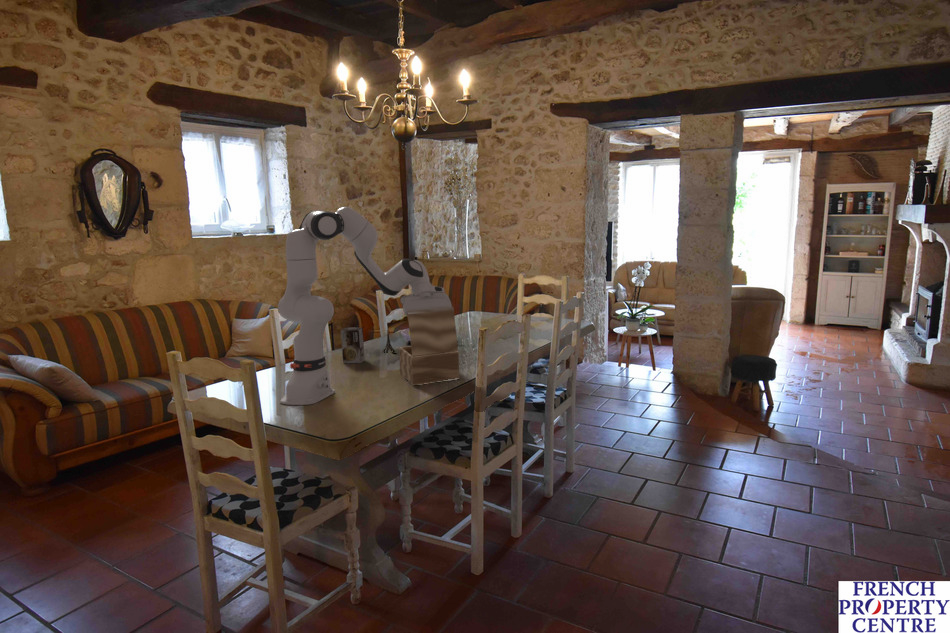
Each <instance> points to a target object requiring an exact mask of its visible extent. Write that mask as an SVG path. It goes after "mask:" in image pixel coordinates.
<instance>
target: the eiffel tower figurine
mask: <svg viewBox="0 0 950 633" xmlns="http://www.w3.org/2000/svg"><path fill="white" fill-rule="evenodd" d="M386 333H387V334H386V335H387V338H386V345H385V346H384V348H383V350H382V353H384V352H385V351H386V353H388V351H390V350H391V351H392V350H393V352H394V353H396V351H395V349H394V348H393V346H392V344H391V341H390V335H389V334H390V333H389V328H387V332H386ZM372 354H373V355H378V353H376V352H372V353H371V355H372Z"/></svg>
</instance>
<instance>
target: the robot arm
mask: <svg viewBox="0 0 950 633" xmlns="http://www.w3.org/2000/svg"><path fill="white" fill-rule="evenodd" d="M339 235H341V236H343V237H344V238H345V239H346V240H347V241H348V242H350V244H351V245H352V246H353V248H354V252H353V253H354V256H355V258H356V259H357V261H358V262H359V263H360V265H361V266H362V267H363V268H364V270H365V271H366V272H367V274H369V275H370V277H371V278H372V280H374V282H375V283H376V285H377V287H379V289H380V291H381V292H382V293H383V294H385V295H387V296H390V297H391V296H392V297H393V296H397V295H399V293H400V292H402V290H403V289H405V287H407V286H409V285H410V287H411V289H410V291H411V294H409V295H407V294H405V295H403V296H401V297H400V299H399V300H400V303H401V304H402V310H403V314H404V315H405V316H407V317H408V311H412V310H423V309H434V308H445V307H453V305H452V301H451V300H450V298H449V295H448V294H447V293H446V289H445V287H441V286H435V285H433V284H432V283H431V282H430V276H429V273H428V271H427V268H426V266H425V264H424V263H423V262H422V261H420V260H418V259H411V258H402V259H401V260H400V261H398V262H396V264H394V266H393V267H392V268H390V269H389V270H387V271H383V270H382V269H381V268H380V266H379V265H378V264H377V263H376V261H375V260H374V259H373V257H372V254H373V252H374V249H375V248H376V245H377V243H378V239H379V234H378V231H377V228H376V227H375V226H374V225H373V224H372V223H371V222H370V221H369V220H368V219H367V218H365V217H364V216H363V215H362V214H361V213H359V212H358V211H356V210H355V209H354V208H351V207H350V206H342V207H340V208H338V209H337V210H336V211H335V212H332V211H327V210H321V209H318V210H314V211H312V210H311V211H310V212H307V214H306V215H305V216H304V217H303V219H302V221H301V224H300V225H299V227H298V229H294V230H291V231H290V232H288V233H287V235H286V241H285V259H286V262H285V263H286V273H287V275H286V277H287V278H286V279H287V282H286V287H285V292H284V294H283V296H282V297H281V298H280V299H279V300H278V304H277V311H278V313H279V315H280V317H282V318H283V319H285V320H288V321H289V322H293V323H299V324H300V326H299V331H298V333H297V335H296V336H294V339H293V353H294V354H293V355H294V359H293V362H291V363H290V365H289V367H290V368H289V369H293V371H292V373H291V374H290V378H289V379H288V381H287V384H286V386H285V394H284V396H282V398H281V399H280V402H279V404H282V405H289V406H291V405H292V406H306V405H315V404H317V403H318V402H320V401H322V400H324V399H326V398H328V397H330V396H331V395H333V394H335V393H336V389H334V388H333V386H332V380H331V375H330V371H329V370H328V369H327V367H326V365H327V363H326V361H327V360H326V356H325V352H324V334H325V329H326V326H327V324H328V323H329V322H330V321H331V320H332V319H333V316H334V312H335V309H334V308H335V307H334V305H333V303H332V301H330V299H327V298H325V297H323V296H319V295H312V294H311V292H312V287H313V285H314V283H315V282H317V280H318V277H319V276H318V275H319V274H318V262H317V253H316V252H317V251H316V248H317V244H318V242H319V241H327V240H328V241H329V240H331V239H334V238H336V237H337V236H339Z"/></svg>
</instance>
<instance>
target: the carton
mask: <svg viewBox="0 0 950 633" xmlns="http://www.w3.org/2000/svg"><path fill="white" fill-rule="evenodd" d="M398 355H399V357H398V358H399V374H400V376H401V377H402V378H404V379H405V378H406V379H407V380H408V381H409V382H410V383H411V384H412V385H418V384H424V383H430V382H437V381H443V380H448V379H455V378H459V379H460V363H459V362H460V360H459V359H460V357H459V355H460V354H459V350H458V351H451V352H443V353H435V354H426V355H418V356H412V349H411V345H409V346H400V347H398ZM406 379H405V380H406ZM407 380H406V381H407ZM408 381H407V382H408ZM409 382H408V383H409ZM410 383H409V384H410ZM411 384H410V385H411ZM412 385H411V386H412Z"/></svg>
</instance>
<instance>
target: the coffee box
mask: <svg viewBox="0 0 950 633" xmlns="http://www.w3.org/2000/svg"><path fill="white" fill-rule="evenodd" d="M340 339H341V352H342V363H343V364H362V363H363V362H364V361H365V346H364V344H365V343H364V331H363V327H357V326H356V327H344V328H342V329H340Z"/></svg>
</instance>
